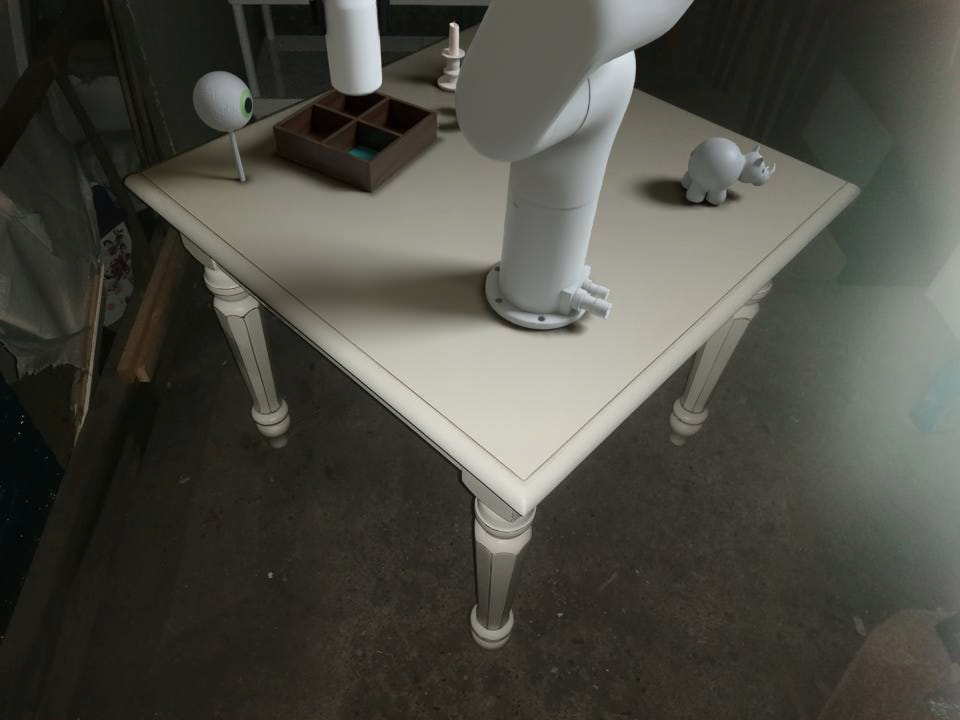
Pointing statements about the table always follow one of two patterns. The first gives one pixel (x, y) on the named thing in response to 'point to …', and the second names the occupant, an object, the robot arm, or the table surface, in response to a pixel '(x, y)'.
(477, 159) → the table surface
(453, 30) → the candle
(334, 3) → the can
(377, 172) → the divided tray
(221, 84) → the lollipop
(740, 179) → the toy rhinoceros
